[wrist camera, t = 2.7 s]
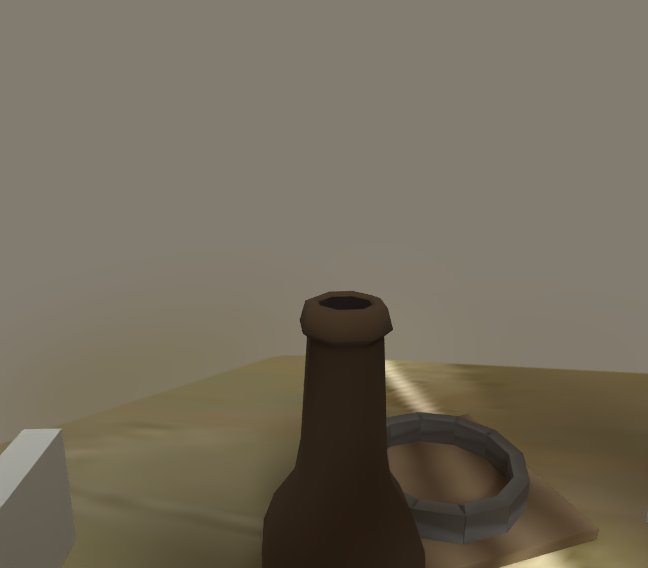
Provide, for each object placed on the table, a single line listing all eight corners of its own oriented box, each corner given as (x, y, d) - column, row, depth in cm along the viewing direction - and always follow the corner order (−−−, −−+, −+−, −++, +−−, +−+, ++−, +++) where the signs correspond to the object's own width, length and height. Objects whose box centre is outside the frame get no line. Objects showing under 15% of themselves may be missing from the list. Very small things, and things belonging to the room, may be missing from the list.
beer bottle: (239, 710, 29) (218, 288, 22) (359, 645, 33) (371, 267, 26) (306, 877, 23) (303, 354, 16) (445, 772, 26) (491, 313, 20)
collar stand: (466, 422, 58) (469, 393, 57) (597, 538, 41) (603, 500, 40) (308, 452, 52) (308, 420, 51) (385, 600, 36) (387, 557, 35)
